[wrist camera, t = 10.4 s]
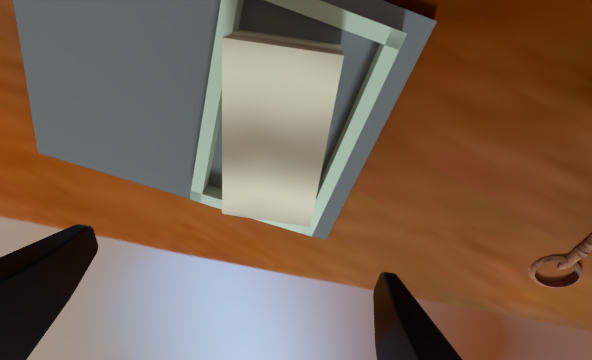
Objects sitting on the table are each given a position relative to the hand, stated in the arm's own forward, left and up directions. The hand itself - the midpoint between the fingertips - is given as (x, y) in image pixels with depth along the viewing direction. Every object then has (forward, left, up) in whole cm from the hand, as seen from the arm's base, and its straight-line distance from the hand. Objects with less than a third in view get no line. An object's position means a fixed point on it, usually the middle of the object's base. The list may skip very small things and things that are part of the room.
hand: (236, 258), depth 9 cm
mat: (-3, -4, -12) cm, 13 cm away
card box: (0, 0, -11) cm, 11 cm away
